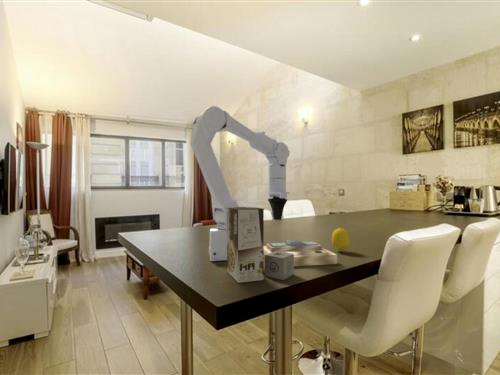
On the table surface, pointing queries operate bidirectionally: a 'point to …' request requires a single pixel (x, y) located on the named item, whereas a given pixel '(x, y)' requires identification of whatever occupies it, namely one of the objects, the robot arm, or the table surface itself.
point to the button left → (278, 245)
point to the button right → (309, 243)
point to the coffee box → (245, 243)
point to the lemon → (340, 239)
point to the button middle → (293, 243)
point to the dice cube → (279, 265)
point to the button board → (305, 254)
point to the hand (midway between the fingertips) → (277, 219)
